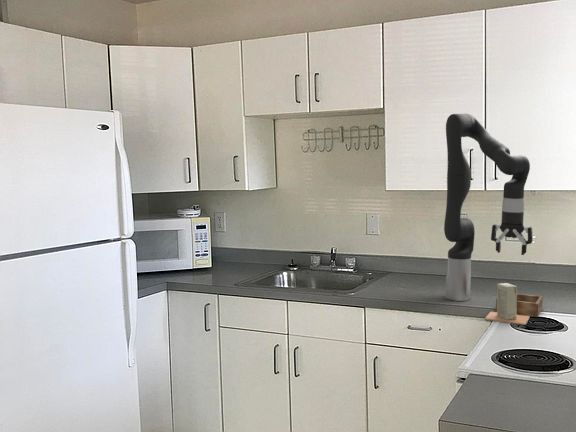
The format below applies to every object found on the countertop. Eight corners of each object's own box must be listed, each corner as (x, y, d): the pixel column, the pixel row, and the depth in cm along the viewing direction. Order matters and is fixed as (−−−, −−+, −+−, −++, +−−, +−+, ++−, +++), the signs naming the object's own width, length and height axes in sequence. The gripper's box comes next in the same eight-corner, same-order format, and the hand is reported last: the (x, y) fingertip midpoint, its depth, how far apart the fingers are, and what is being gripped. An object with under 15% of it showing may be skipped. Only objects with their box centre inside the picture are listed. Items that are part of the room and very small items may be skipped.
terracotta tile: (484, 319, 229) (485, 318, 229) (490, 312, 238) (490, 311, 238) (525, 325, 223) (525, 323, 223) (529, 317, 231) (529, 316, 231)
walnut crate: (495, 311, 239) (496, 299, 238) (501, 304, 249) (502, 291, 249) (537, 317, 232) (538, 303, 231) (542, 308, 242) (542, 296, 241)
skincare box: (516, 319, 228) (518, 286, 226) (506, 320, 227) (507, 287, 225) (506, 314, 234) (507, 282, 233) (496, 315, 233) (497, 283, 231)
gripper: (490, 210, 230) (488, 253, 232) (531, 212, 222) (529, 257, 225) (495, 207, 236) (493, 249, 238) (535, 210, 229) (532, 253, 231)
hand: (510, 253), depth 232 cm, fingers open, 8 cm apart
